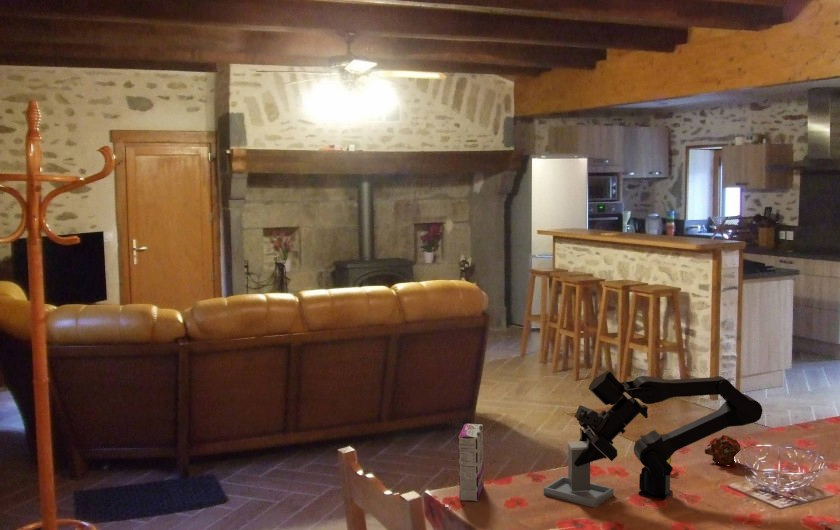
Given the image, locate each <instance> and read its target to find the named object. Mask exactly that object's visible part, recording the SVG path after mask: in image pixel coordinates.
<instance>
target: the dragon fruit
mask: <svg viewBox="0 0 840 530" xmlns="http://www.w3.org/2000/svg"><path fill="white" fill-rule="evenodd" d="M706 446H707V447H708V448H704V449H703V450H704V454H706V455H709V456H711V457H712V461H713V462H714V463H715V464H716V463H718V462H719V464H720V465H722V466H724V465H731V464H732V465H736V464H737V463H735V461H734V456H735V455H736V454H737V453H738V452H739V451H740V450H742V449H741V444H740V442H738V440H737V439H734V437H732V436H729V435H725V434H722V435H721V436H720V437H718V438H717V437H715V438H713V439H712V440H711V441H710V443H708V444H707V445H706ZM732 465H731V466H732Z"/></svg>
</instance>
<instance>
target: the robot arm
mask: <svg viewBox="0 0 840 530" xmlns="http://www.w3.org/2000/svg"><path fill="white" fill-rule="evenodd" d="M588 390H589V391H590V392H591V393H592V394H593V395H594V396H595V397H596V398H597V399H598V400H599V401H600V402H601V403H603V404H604V405H605V406H608V405H610V406H611V407H609V409H608V410H607V411H606V410H605V409H604V410H601V411H600V412H598V411H596V410H593V409H592V408H588V407H586V406H584V405H582V404H579V406H578V408H577V410H576V412H575V414H574V417H575V418H576V420H577V421H578V422H577V423H578V424H579V425H580V426H579V427H580V428H579V431H580V438H579V440H578V441H587V447H586V448H585V449H584V451H583V452H582V453H581V455H580V456H579V457H578V458H577V460H576V461H575V463H574V464H575V465H576V466H577V467H578V466H581V465H584V464H587V463H590V464H591V463H593V462H595V461H599V460H602V459H607V458H608V460H610V461H611V462H613V461H614V460H615V459H616V457H618V449H616V446H614V445H613V444H615V443H614V441H613V440H614V439H615V438H616V437H618V435H619V434H620V433H621V434H623V435H624V433H625V432H626V430H625V428H626V427H627V426H628V425H629V424H631V422H632V421H633V420H634V419H636V417H637V416H638V415H639V414H641V415H642V416H643V418H645V419H648V418H649V414H648V409H649V407H648V406H647V405H653V404H656V403H660V402H661V403H662V402H664V401H667V400H669V399H672V398H684V397H700V396H715V395H719V396H720V397H721V398H722V399H723V400H724V402H723V404H722V405H721V406H720V407H719V409H717V410H716V411H713V412H711V413H709V414H707V415H704V416H702V417H700V418H698V419H695V420H693V421H692V422H689V423H687V424H685V425H683V426H680V427H678V428H677V429H676V428H675V429H674V430H672V431H669V432H668V433H663V434H660V433H658V432H657V431H656V429H654V430H651V431H650V432H648V433H646V434H644V435H640V436H639V437H640V438H639V439H637V440H636V441H635V442H634V445H633V454H634V455H635V457H636V458H637V460H639V461H640V463H641V465H643V467H642V468H641V473H640V474H639V488H638V489H639V491H638V492H637V493H638V495H639V496H643V497H647V498H652V499H657V500H661V501H663V500H665V499H667V498H668V497H669V496H670V495H672V494H673V490H671V474H672V471H673V468H674V467H673V466H672V465H671V463H670V464H669V463H668V462H667V460H668V459H669V458H670V457H671V458H672V456H673V455H674V454H675V452H677V451H678V450H680V449H684V448H685V447H688V446H689V445H692V444H694V443H696V442H699V441H700V440H703V439H705V438H707V437H710V436H712V435H714V434H717V433H718V432H721V431H722V430H725V429H728V428H730V427H733V428H734V427H742V426H743V427H744V426H746V425H751V424H754V423H756V422H758V421H759V420H760V419H762V415H763V406H762V405H761V403H760V402H758V401H757V400H756V399H754V398H752V397H751V396H749V395H748V394H745V393H742V391H740V390H739V389H737V388H736V387H735V386H734V385H733V384H732V383H731V382H730V381H729V380H728V379H726V378H725V377H723V376H721V375H717V376H714V377H712V376H711V377H710V376H709V377H695V378H694V377H692V378H691V377H690V378H679V379H678V378H677V379H675V378H674V379H667V378H662V377H657V376H648V375H640V376H637V377H635V379H634V380H629V381H619V380H618V379H617V378H616V377H615V375H614V374H613V373H612V372H611V371H610V370H609V369H608V370H606V371H605V372H603V373H601V374H600V375H598V376H595V377H594V379H593V380H592V381H591V382H590V383H589V385H588ZM624 393H625V394H627V395H628V396H629V397H630V398H628V397H627V396H626V395H625V394H624ZM638 400H639V401H640V402H641V403H643V404H641V403H640V402H639V401H638ZM582 428H583V429H582Z"/></svg>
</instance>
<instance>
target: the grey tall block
mask: <svg viewBox="0 0 840 530" xmlns="http://www.w3.org/2000/svg"><path fill="white" fill-rule="evenodd" d="M586 447H587V441H579V440H578V441H567V451H568V452H567V454H568V456H567V458H568V459H567V460H568V463H567V464H568V466H567V467H568V469H567V470H568V471H567V474H568V476H567V477H568V485H569V487H570V488H571V490H572V491H590V483H591V462H590V463H587V464H584V465H581V466H578V467H577V466H576V465H575V464H574V463H575V461H576V460H577V458H578V457H579V456H580V455H581V453H582V452H583V451H584V449H585V448H586Z"/></svg>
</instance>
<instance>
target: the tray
mask: <svg viewBox="0 0 840 530" xmlns="http://www.w3.org/2000/svg"><path fill="white" fill-rule="evenodd" d="M543 495H544V496H547V497H552V498H556V499H559V500H562V501H566V502H571V503H575V504H577V505H583V506H586V507H590V508H594V507H595V509H596V508H597V507H598V505H599V506H601V505H602V504H603V503H604V502H606V501H608V500H609V499H610V498H612V497H614V487H610V486H606V485H603V484H598V483H592V482H590V491H572V490H571V488H570V487H569V485H568V476H562V477H559V478H558V479H556V480H554V481H553V482H551V483H549V484H548V485H546V486H544V487H543ZM611 496H612V497H611ZM605 500H606V501H605ZM601 503H602V504H601Z"/></svg>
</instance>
